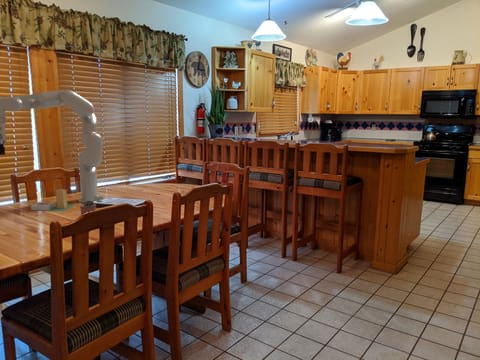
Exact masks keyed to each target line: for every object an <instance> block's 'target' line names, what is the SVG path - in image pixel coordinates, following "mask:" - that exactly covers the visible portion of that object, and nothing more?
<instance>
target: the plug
mask: <svg viewBox="0 0 480 360" xmlns="http://www.w3.org/2000/svg"><path fill="white" fill-rule="evenodd" d="M55 200H56V202H55V205H57V208H66V207H67V205H68V190H67V189H64V188H59V189H55Z"/></svg>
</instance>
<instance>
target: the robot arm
mask: <svg viewBox="0 0 480 360" xmlns="http://www.w3.org/2000/svg"><path fill="white" fill-rule="evenodd" d="M63 106H68V107H69V108H71V109H72V110H73V112H74V114H75V115H77V116H78V117H79V118H80V120H81V124H82V126H81V127H82V128H81V140H80V141H81V142H80V143H81V144H82V147H85V149H84V150H82V151H81V152H79V154H78V158H77V160H78V167H79V180H80V181H79V182H80V184H79V186H80V199H78V200H77V201H78V202H79V203H82V202H83V201H87V200H89V201H92V200H93V201H94V203H97V202H100V201H101V200H105V196H104V195H100V193H98V171H97V170H98V169H97V167H99V166H100V165H101V164H102V162H103V161H102V160H103V152H104V151H103V149H104V140H103V137H102V135H100V134H99V133H98V119H97V115H96V114H95V113H94V112H95V107H94V105H93V103H91V102H90V101H89V100H87V99H85V98H84V97H83V96H82V95H80V94H78V93H76V92H75V91H73V90H70V89H61V90H51V91H43V92H36V93H31V94H26V95H25V94H24V95H19V96H18V95H17V96H6V97H5V96H4V97H3V96H0V156H4V155H6V148H5V144H6V143H7V134H6V124H7V120H6V119H7V118H6V111H8V112H19V111H24V110H30V109H31V110H32V109H38V110H41V109H48V108H56V107H63Z"/></svg>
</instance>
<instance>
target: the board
mask: <svg viewBox="0 0 480 360" xmlns="http://www.w3.org/2000/svg"><path fill="white" fill-rule="evenodd" d="M74 206H75V204H74V205H73V204H67V207H66V208H57V204H56V202H54V201H53V202H51V201H48V202H46V201H38V202H36V203H33V204H32V205H30V210H31V211H36V212H37V211H38V212H39V211H40V212H65V211H68V209H71V208H72V207H74Z"/></svg>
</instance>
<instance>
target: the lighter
mask: <svg viewBox="0 0 480 360" xmlns="http://www.w3.org/2000/svg"><path fill="white" fill-rule="evenodd" d="M96 206H97V204H95V202H94V201H93V200H92V201H89V200H87V201H83V202H81V206H80V207H79V208H80V215H81V214H84V213H86V212H90V211H94V210H96V211H97V207H96Z"/></svg>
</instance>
